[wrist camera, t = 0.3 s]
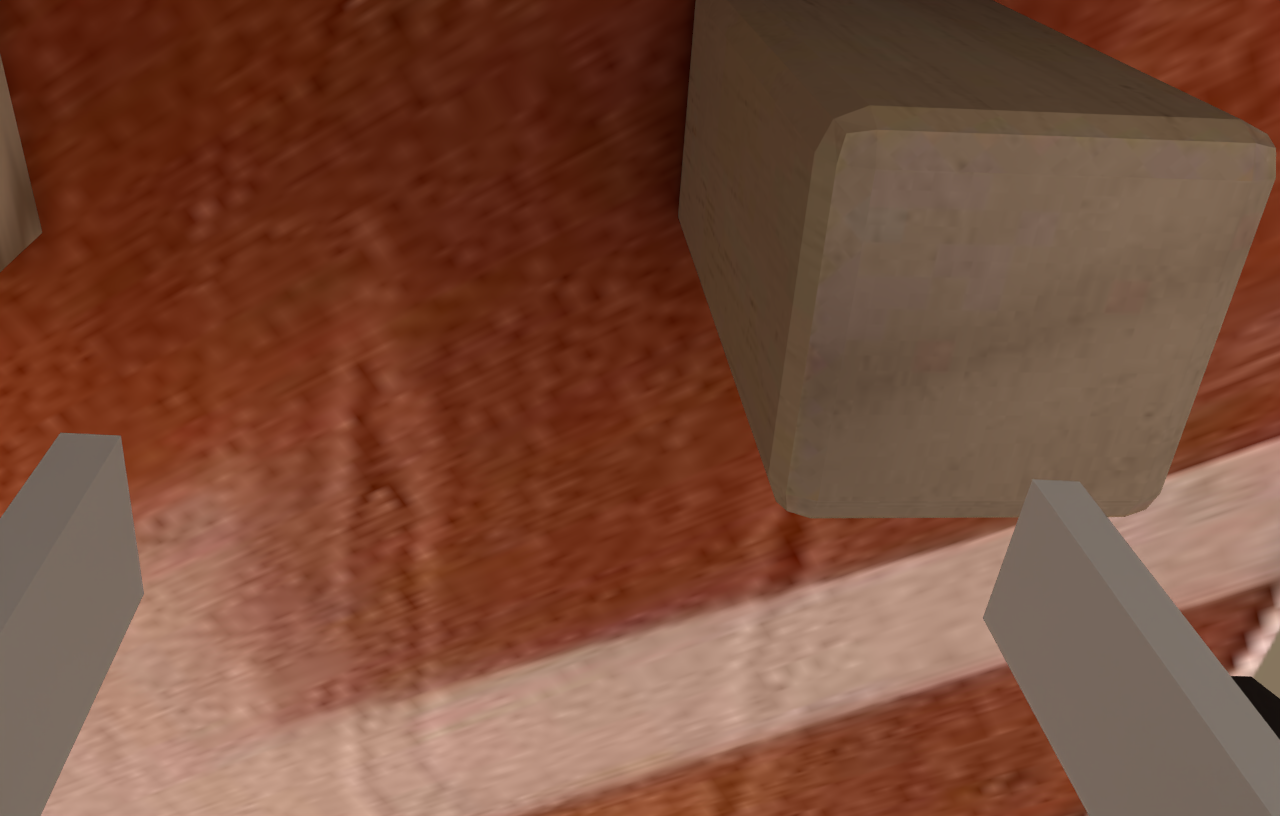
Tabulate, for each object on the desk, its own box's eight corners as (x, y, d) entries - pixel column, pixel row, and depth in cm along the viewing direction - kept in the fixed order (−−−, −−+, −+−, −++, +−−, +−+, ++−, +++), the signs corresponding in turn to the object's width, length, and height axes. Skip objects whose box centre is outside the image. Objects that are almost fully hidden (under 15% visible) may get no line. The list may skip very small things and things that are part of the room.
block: (915, 237, 44) (1165, 533, 27) (673, 231, 43) (771, 535, 26) (967, -23, 39) (1315, 134, 22) (694, -38, 38) (834, 117, 21)
